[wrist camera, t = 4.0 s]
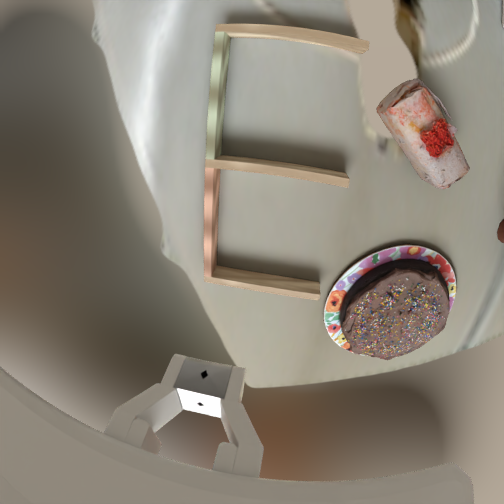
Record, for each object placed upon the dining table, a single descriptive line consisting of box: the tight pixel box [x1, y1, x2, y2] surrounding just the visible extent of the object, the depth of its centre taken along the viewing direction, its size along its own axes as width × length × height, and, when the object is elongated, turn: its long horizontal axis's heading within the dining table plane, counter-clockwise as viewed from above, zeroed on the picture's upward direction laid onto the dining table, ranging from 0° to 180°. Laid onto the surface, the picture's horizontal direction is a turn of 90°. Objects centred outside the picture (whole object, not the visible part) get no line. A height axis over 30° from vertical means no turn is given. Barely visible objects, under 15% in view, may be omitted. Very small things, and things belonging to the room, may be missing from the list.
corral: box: [204, 24, 369, 300], centre depth 35 cm, size 40×19×4 cm, turn 175°
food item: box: [377, 79, 470, 189], centre depth 26 cm, size 14×8×10 cm, turn 45°
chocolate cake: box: [323, 244, 457, 360], centre depth 44 cm, size 28×28×7 cm
